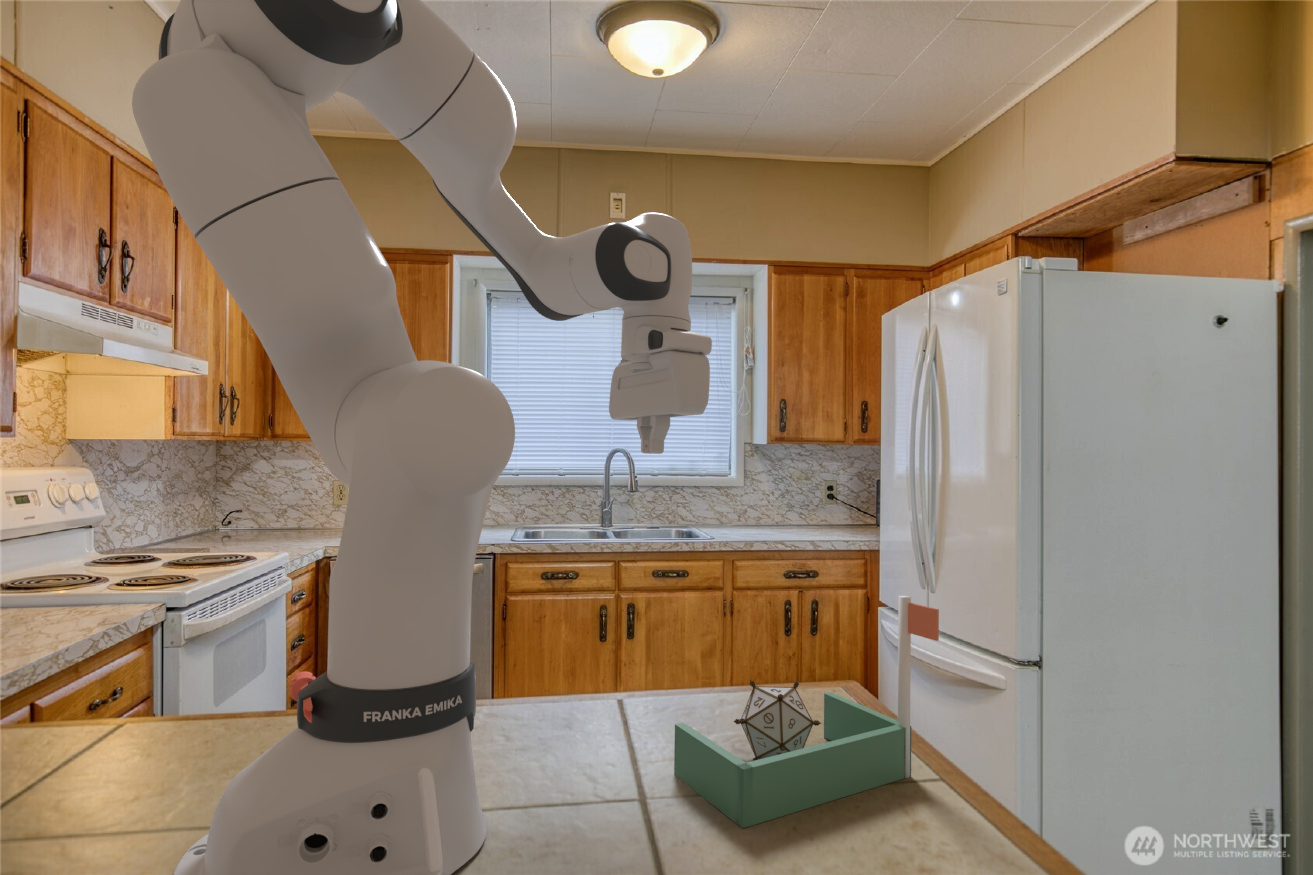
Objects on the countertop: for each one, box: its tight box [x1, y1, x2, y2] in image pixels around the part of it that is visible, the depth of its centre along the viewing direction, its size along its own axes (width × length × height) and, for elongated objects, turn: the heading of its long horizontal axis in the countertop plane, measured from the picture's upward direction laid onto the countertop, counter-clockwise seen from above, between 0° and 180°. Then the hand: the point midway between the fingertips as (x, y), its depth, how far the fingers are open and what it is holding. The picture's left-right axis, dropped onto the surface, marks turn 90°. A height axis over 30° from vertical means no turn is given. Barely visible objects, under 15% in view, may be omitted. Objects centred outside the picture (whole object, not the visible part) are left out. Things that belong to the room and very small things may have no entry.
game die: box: [733, 679, 822, 761], centre depth 74 cm, size 9×8×10 cm
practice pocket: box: [673, 595, 940, 829], centre depth 69 cm, size 21×15×18 cm
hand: (652, 453), depth 89 cm, fingers closed
